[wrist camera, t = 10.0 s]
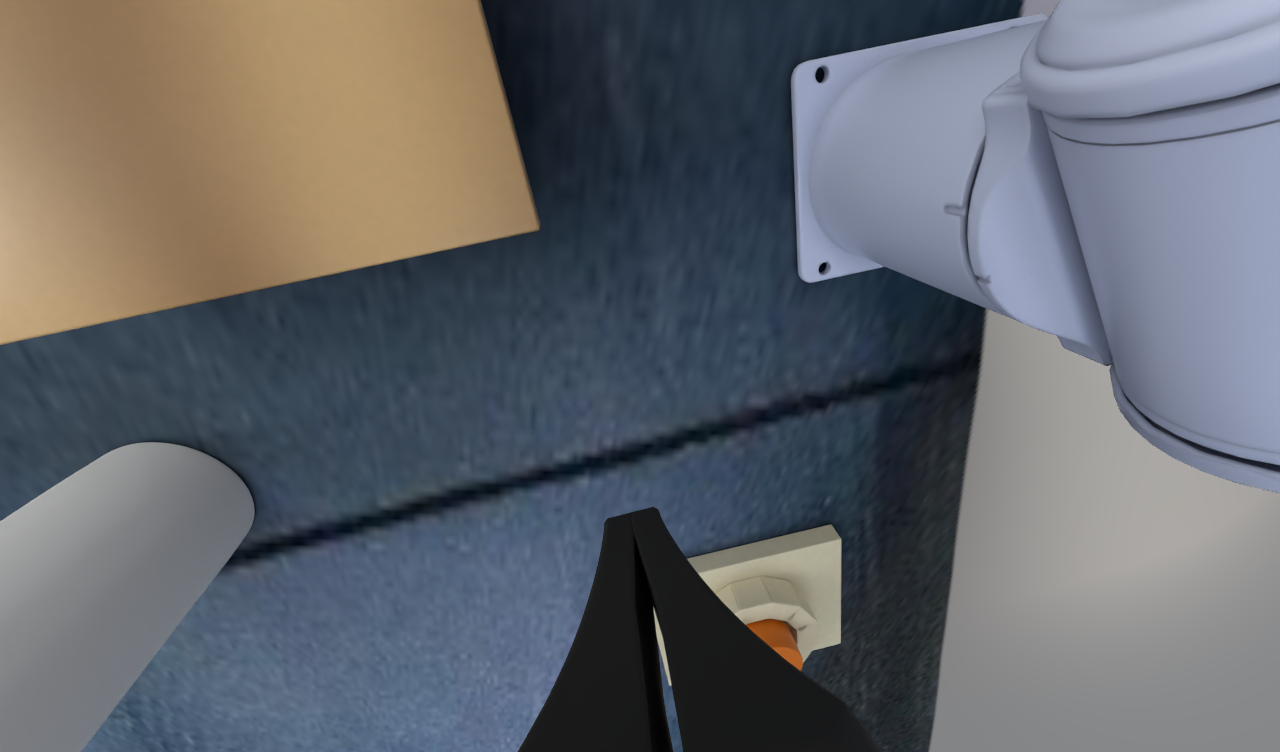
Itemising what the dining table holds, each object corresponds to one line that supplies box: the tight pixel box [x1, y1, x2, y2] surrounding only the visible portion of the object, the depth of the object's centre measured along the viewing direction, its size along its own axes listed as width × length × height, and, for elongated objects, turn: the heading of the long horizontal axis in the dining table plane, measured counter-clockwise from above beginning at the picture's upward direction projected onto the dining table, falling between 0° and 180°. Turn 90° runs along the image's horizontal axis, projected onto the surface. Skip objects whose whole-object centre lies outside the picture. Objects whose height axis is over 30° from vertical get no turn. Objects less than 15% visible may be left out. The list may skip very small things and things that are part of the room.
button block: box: [653, 524, 841, 686], centre depth 28 cm, size 11×9×3 cm
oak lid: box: [0, 0, 541, 345], centre depth 10 cm, size 14×12×1 cm
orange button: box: [746, 619, 803, 671], centre depth 26 cm, size 4×4×2 cm
